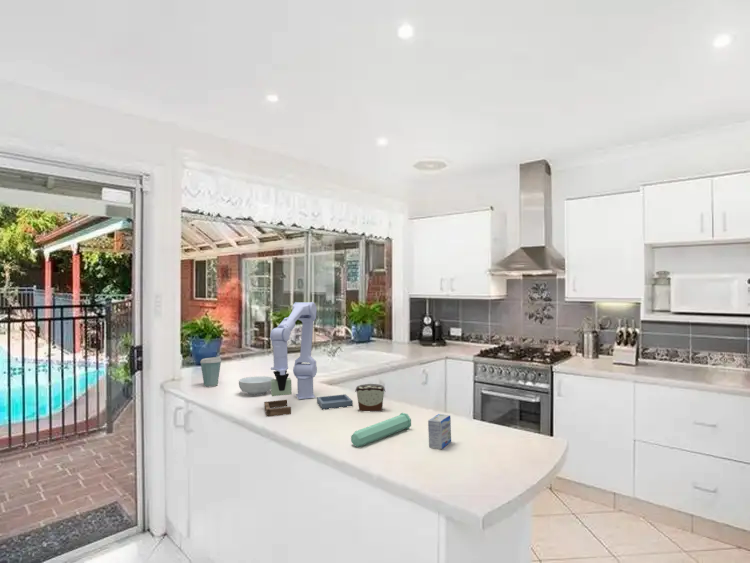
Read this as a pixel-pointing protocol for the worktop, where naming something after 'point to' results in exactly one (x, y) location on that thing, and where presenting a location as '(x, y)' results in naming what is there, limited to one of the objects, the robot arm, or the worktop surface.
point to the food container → (370, 397)
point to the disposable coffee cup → (210, 371)
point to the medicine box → (439, 431)
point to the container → (381, 430)
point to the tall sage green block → (275, 388)
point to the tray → (334, 401)
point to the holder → (276, 410)
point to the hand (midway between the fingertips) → (281, 389)
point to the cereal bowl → (255, 384)
